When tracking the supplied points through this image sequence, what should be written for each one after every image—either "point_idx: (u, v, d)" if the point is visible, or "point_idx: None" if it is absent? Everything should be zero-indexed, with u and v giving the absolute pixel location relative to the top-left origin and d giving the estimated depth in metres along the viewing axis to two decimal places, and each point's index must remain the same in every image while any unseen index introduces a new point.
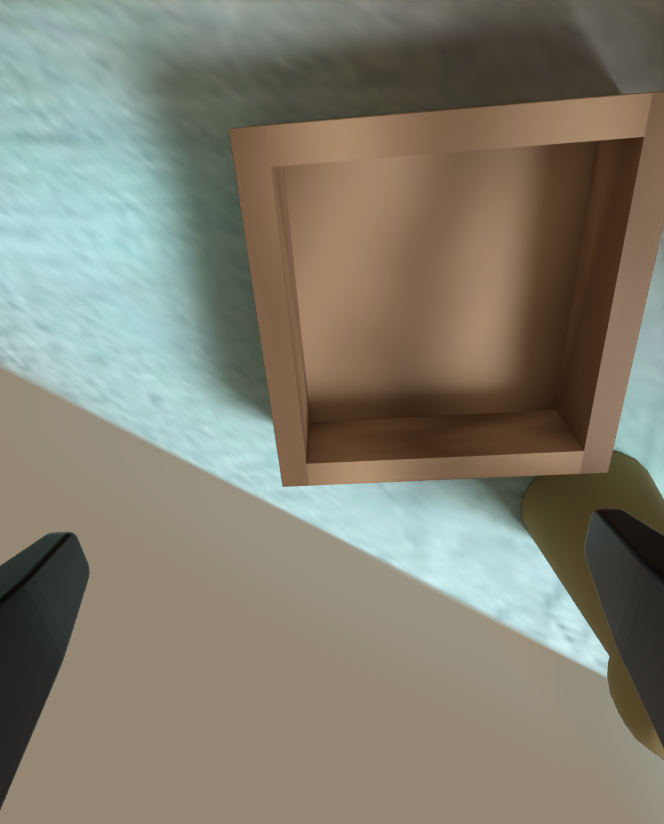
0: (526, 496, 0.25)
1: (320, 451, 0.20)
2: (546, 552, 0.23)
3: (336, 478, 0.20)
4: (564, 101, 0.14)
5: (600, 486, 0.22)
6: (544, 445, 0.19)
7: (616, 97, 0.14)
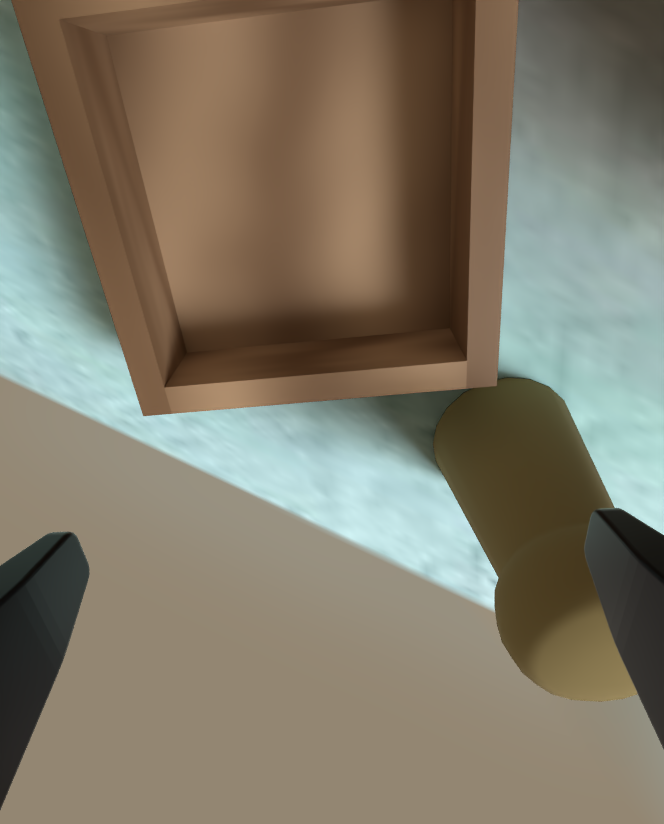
0: (436, 434, 0.23)
1: (184, 376, 0.18)
2: (453, 488, 0.21)
3: (199, 404, 0.18)
4: None
5: (504, 412, 0.20)
6: (426, 358, 0.18)
7: None
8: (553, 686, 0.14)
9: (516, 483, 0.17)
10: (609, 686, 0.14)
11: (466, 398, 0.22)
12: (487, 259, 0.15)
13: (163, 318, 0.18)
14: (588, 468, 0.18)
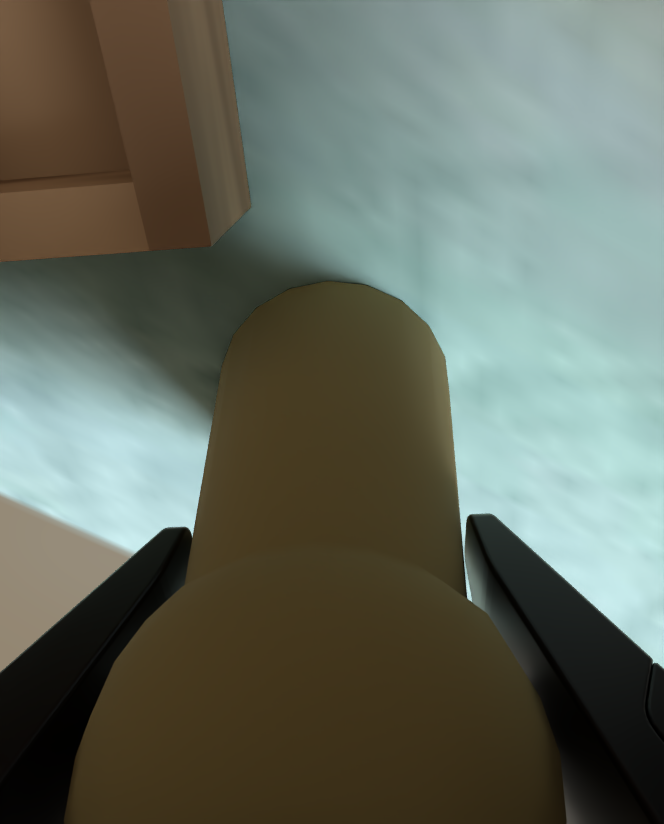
0: None
1: None
2: None
3: None
4: None
5: (292, 329, 0.11)
6: (68, 186, 0.08)
7: None
8: None
9: (246, 453, 0.08)
10: None
11: (256, 315, 0.13)
12: None
13: None
14: (408, 428, 0.09)
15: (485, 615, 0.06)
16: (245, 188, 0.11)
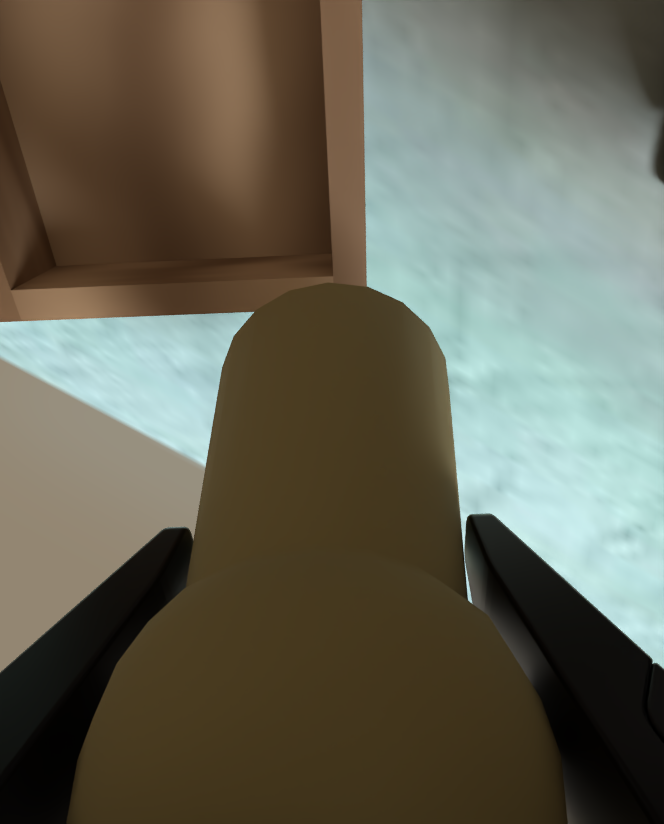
0: None
1: (38, 282, 0.17)
2: None
3: (51, 312, 0.17)
4: None
5: (292, 331, 0.11)
6: (294, 274, 0.16)
7: None
8: None
9: (246, 454, 0.08)
10: None
11: (256, 316, 0.13)
12: (346, 158, 0.14)
13: (17, 218, 0.17)
14: (409, 430, 0.09)
15: (486, 617, 0.06)
16: None
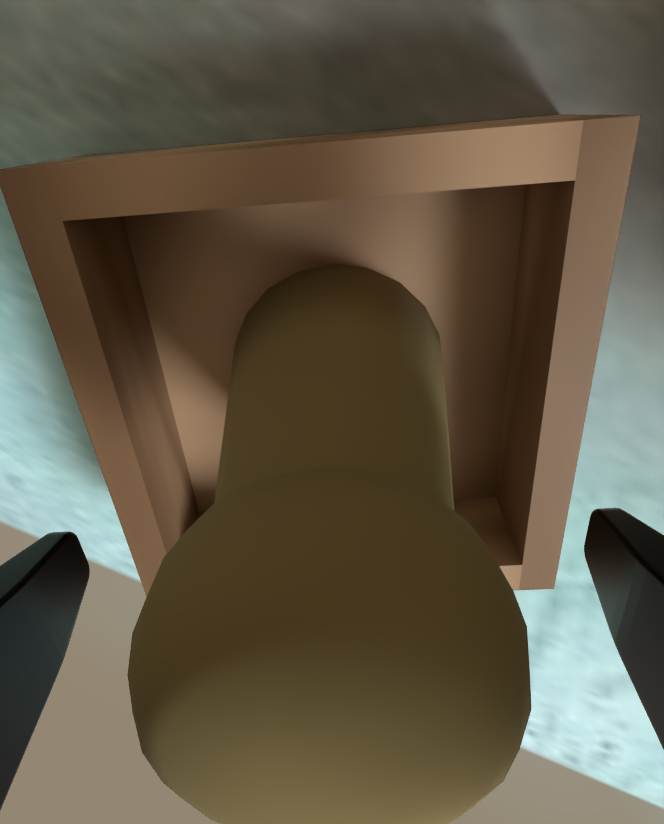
0: None
1: None
2: None
3: None
4: (459, 132, 0.10)
5: (302, 305, 0.12)
6: None
7: (532, 126, 0.10)
8: (218, 819, 0.07)
9: (264, 404, 0.09)
10: None
11: (267, 295, 0.14)
12: (556, 471, 0.13)
13: (174, 494, 0.16)
14: (405, 386, 0.10)
15: (468, 523, 0.07)
16: None
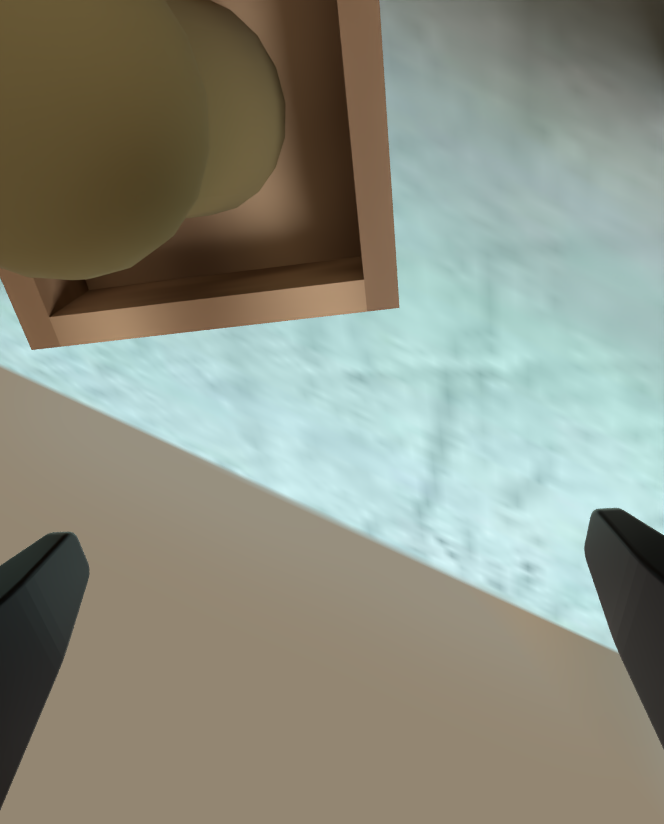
0: None
1: (74, 307, 0.17)
2: None
3: (88, 335, 0.17)
4: None
5: None
6: (324, 280, 0.16)
7: None
8: None
9: None
10: (1, 181, 0.07)
11: None
12: (372, 161, 0.14)
13: None
14: (175, 3, 0.11)
15: None
16: None
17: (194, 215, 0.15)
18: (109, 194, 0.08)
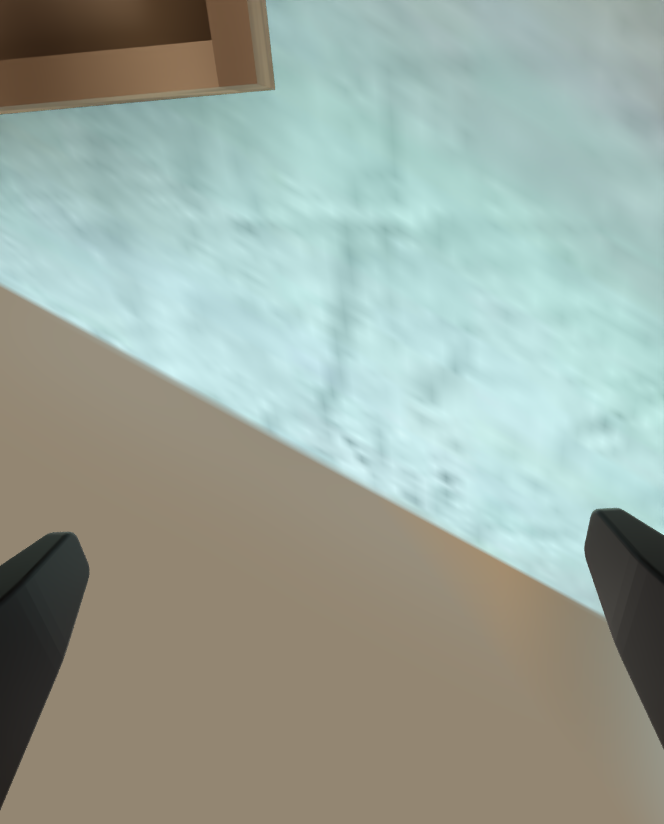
0: None
1: None
2: None
3: None
4: None
5: None
6: None
7: None
8: None
9: None
10: None
11: None
12: None
13: None
14: None
15: None
16: (272, 72, 0.17)
17: None
18: None
